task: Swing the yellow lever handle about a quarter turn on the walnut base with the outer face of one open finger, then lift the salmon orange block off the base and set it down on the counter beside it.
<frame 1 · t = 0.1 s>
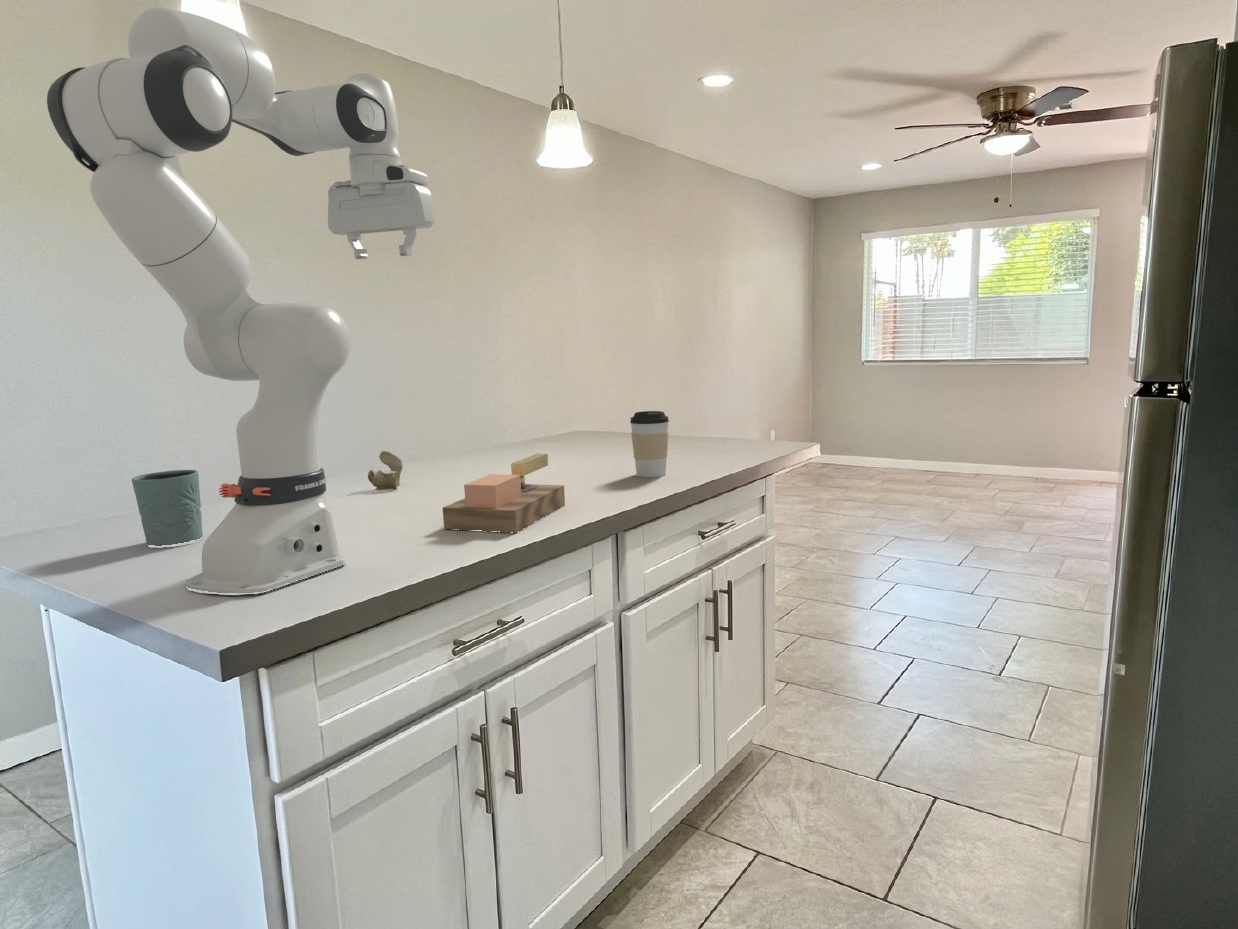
hand: (383, 257, 141), 48 cm above the counter, fingers open, 8 cm apart
yellow lever handle: (530, 470, 155), point 7 cm above the counter, hinge at 0.0°
base: (507, 516, 146), on the counter
coffee cup: (651, 475, 183), on the counter
salmon orange block: (494, 501, 141), point 4 cm above the counter, touching base
green embossed plant pot: (174, 543, 137), on the counter
tan squirrel figurine: (389, 489, 178), on the counter
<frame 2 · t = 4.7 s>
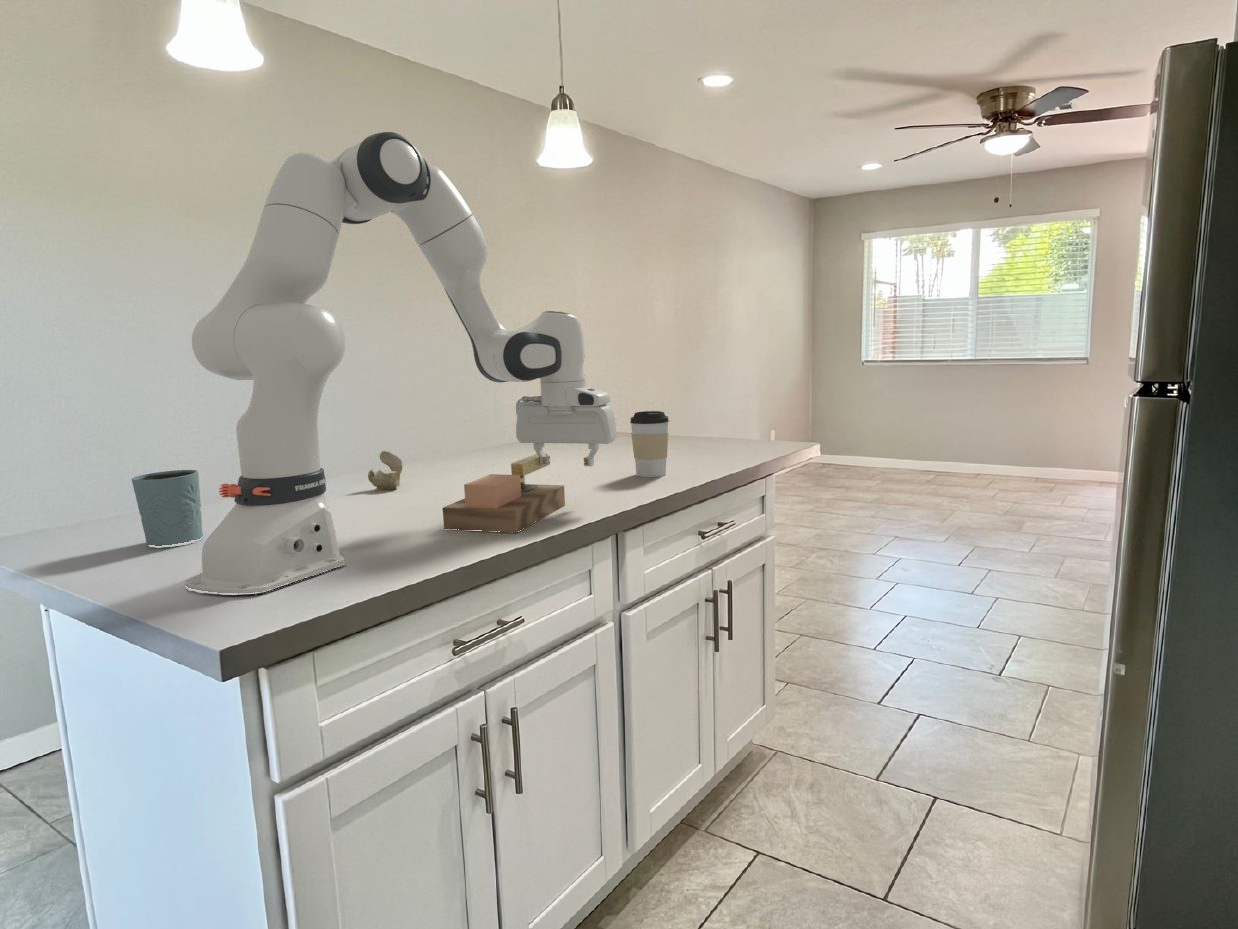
hand: (566, 465, 155), 7 cm above the counter, fingers open, 8 cm apart
yellow lever handle: (530, 470, 155), point 7 cm above the counter, hinge at 0.0°, touching gripper
everything else where it was.
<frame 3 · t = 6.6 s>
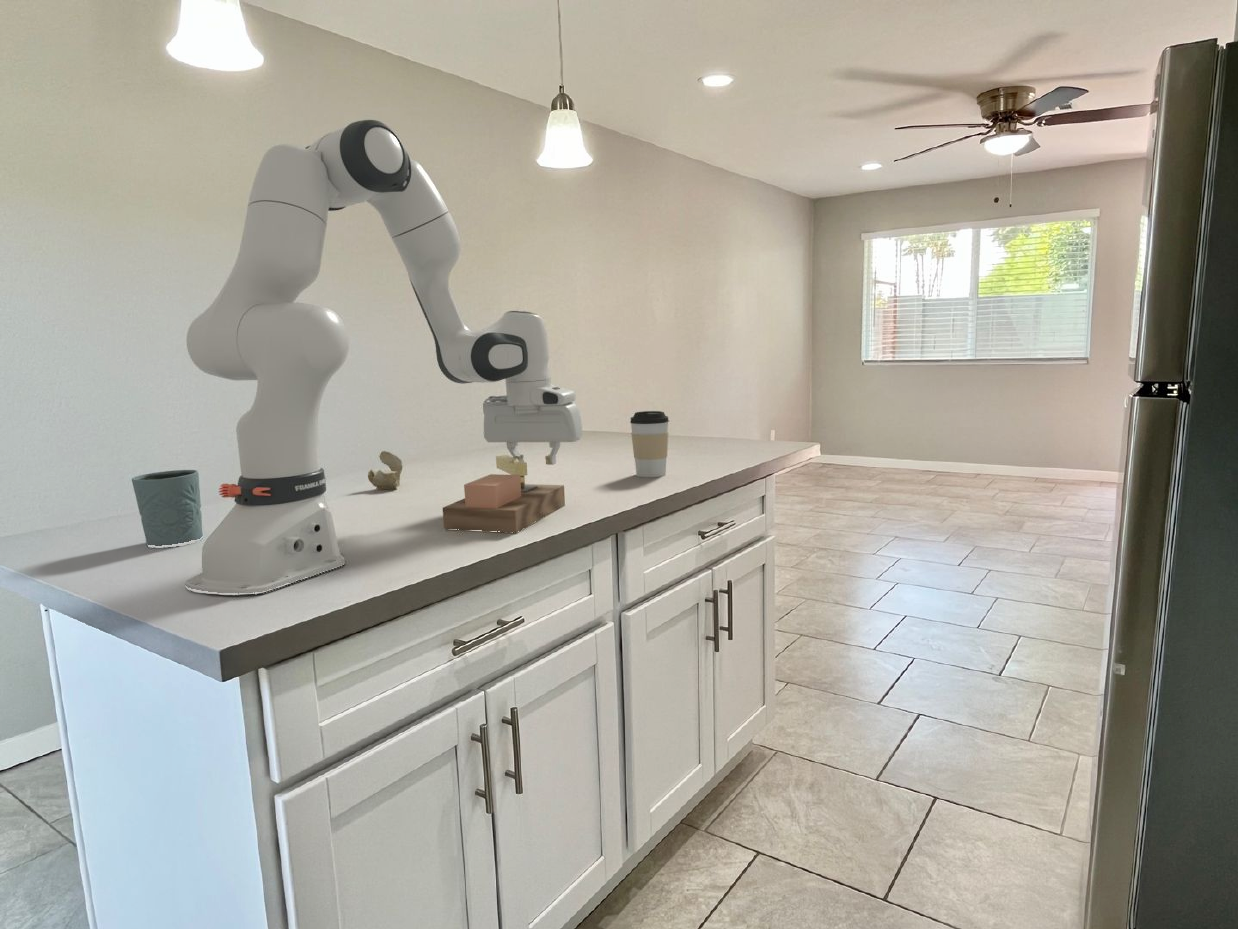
hand: (534, 464, 156), 8 cm above the counter, fingers open, 6 cm apart
yellow lever handle: (511, 471, 155), point 7 cm above the counter, hinge at 44.0°, touching gripper
everything else where it was.
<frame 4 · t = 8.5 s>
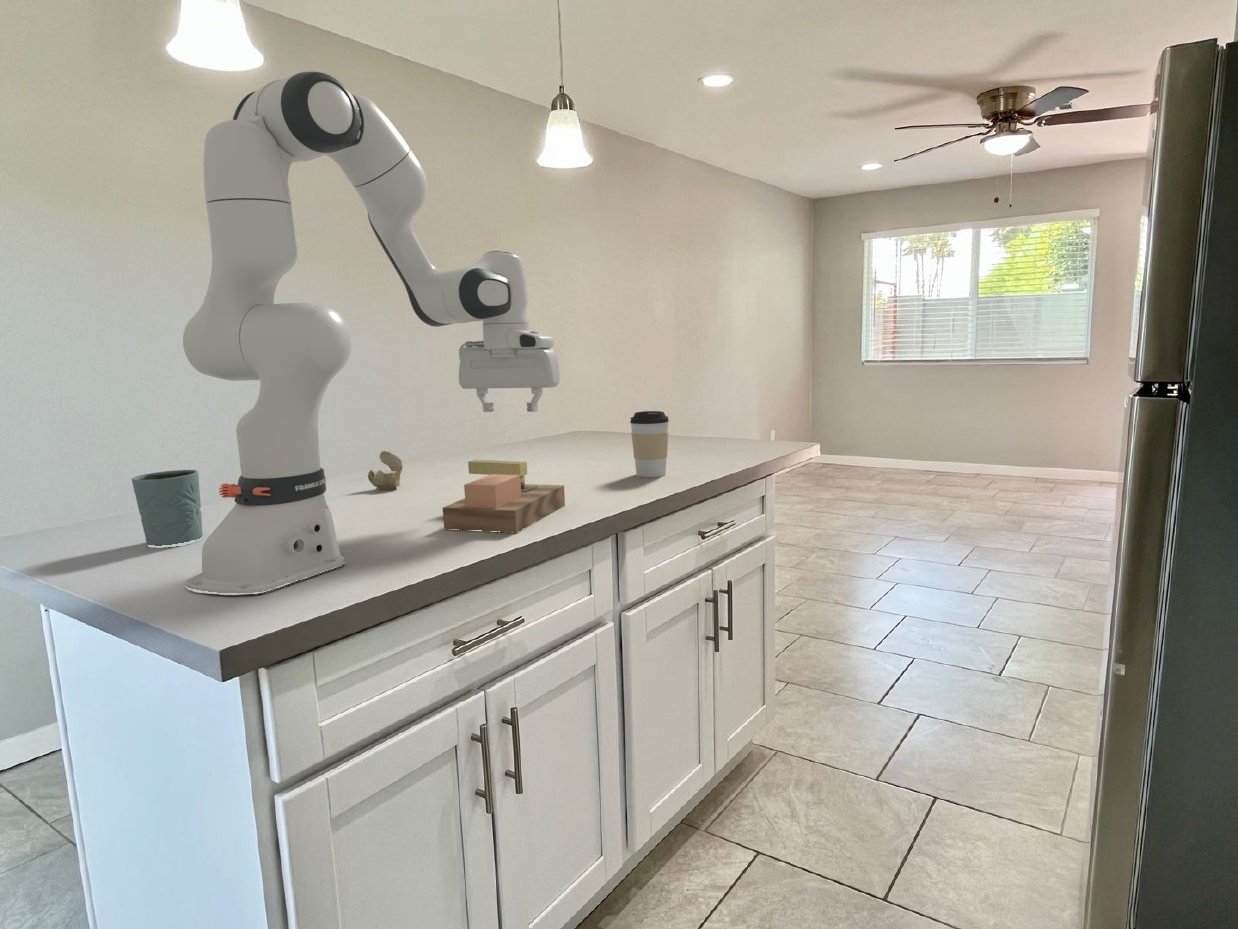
hand: (510, 411, 152), 19 cm above the counter, fingers open, 8 cm apart
yellow lever handle: (497, 473, 153), point 7 cm above the counter, hinge at 82.7°
everything else where it was.
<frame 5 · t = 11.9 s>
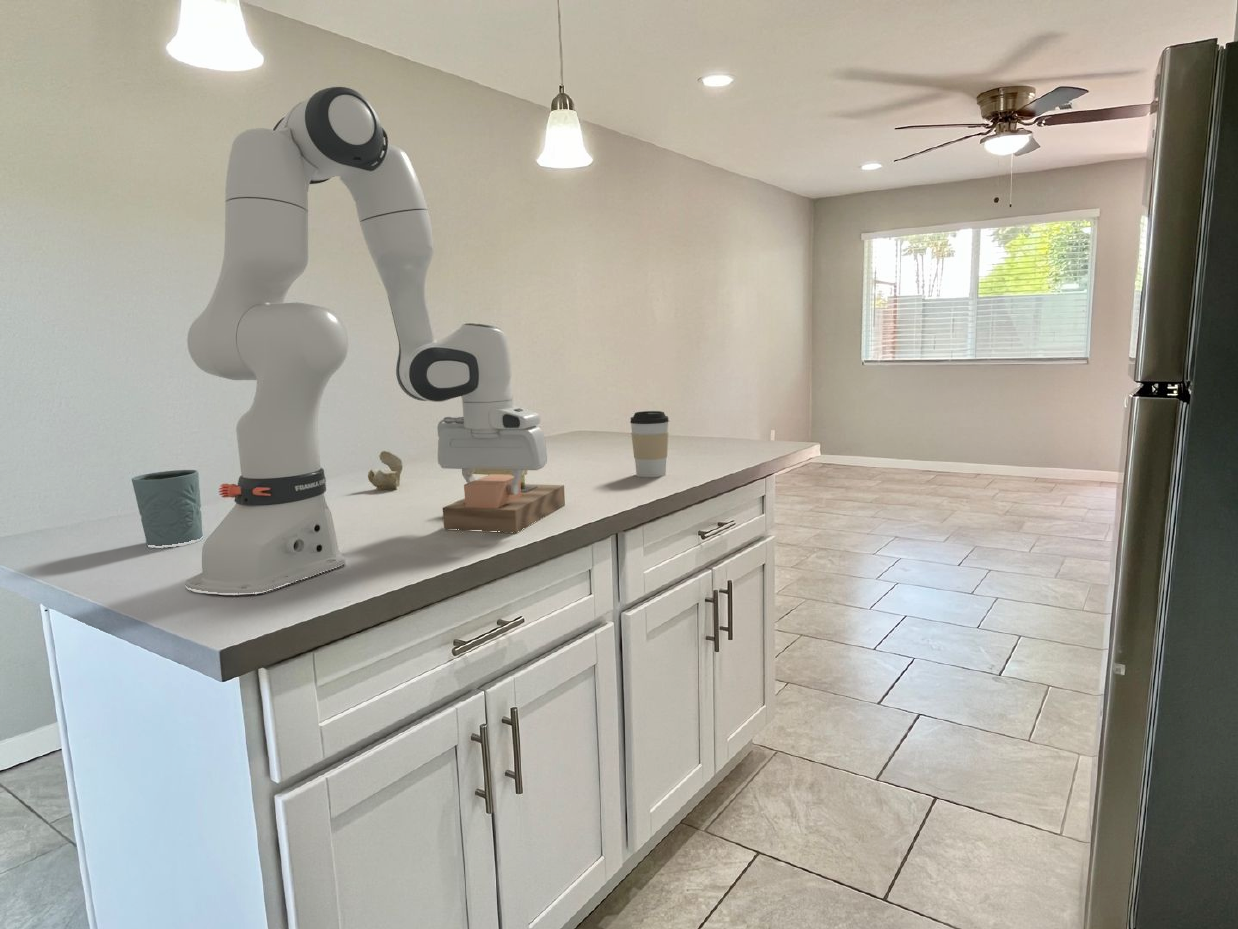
hand: (493, 493, 140), 5 cm above the counter, fingers closed on salmon orange block, 6 cm apart
salmon orange block: (494, 501, 141), point 4 cm above the counter, touching base, gripper
everything else where it was.
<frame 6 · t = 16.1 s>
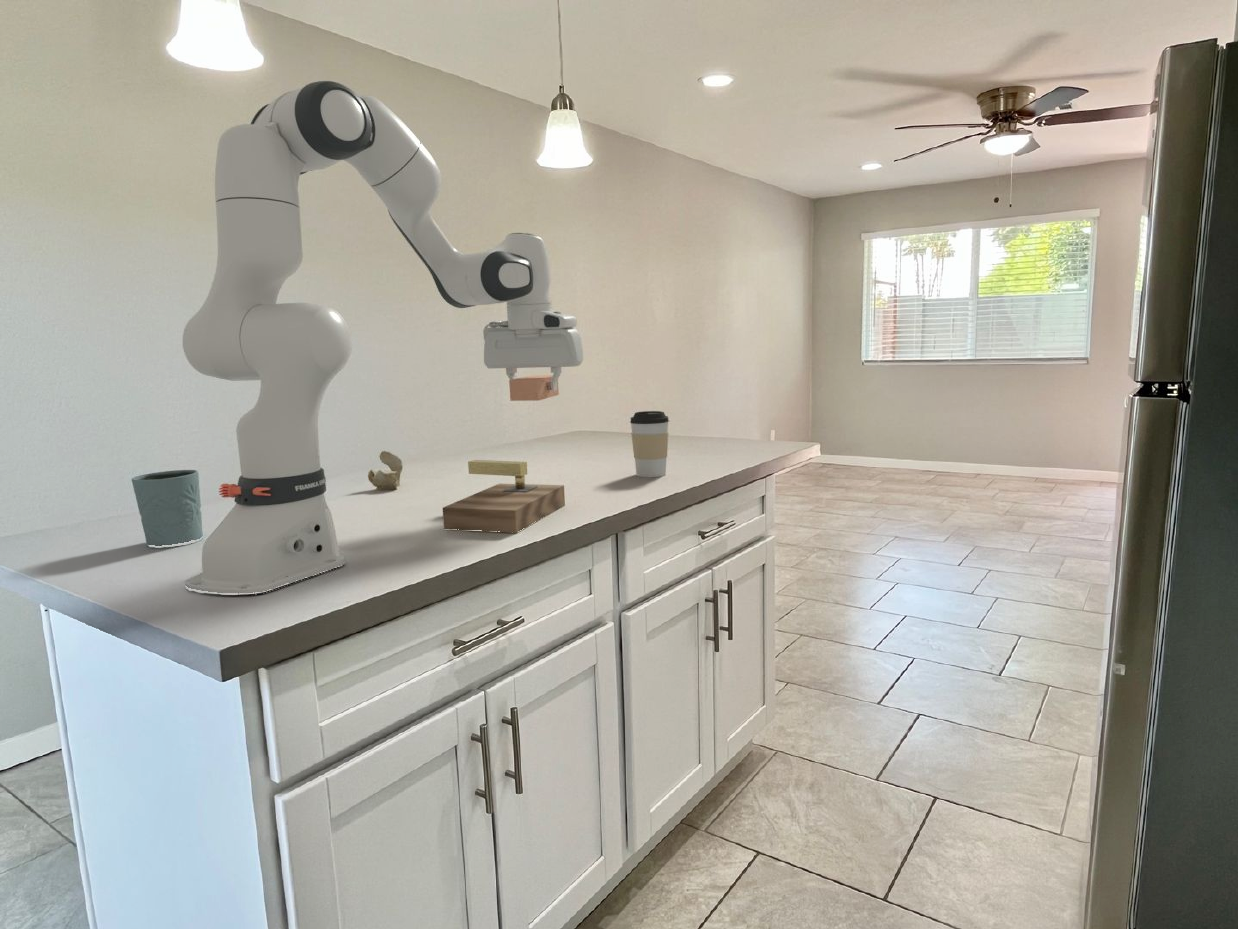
hand: (534, 390, 156), 22 cm above the counter, fingers closed on salmon orange block, 6 cm apart
salmon orange block: (535, 397, 156), point 21 cm above the counter, touching gripper
everything else where it was.
when the fingers open (3 cm above the counter, at t = 20.5 s): salmon orange block drops 2 cm, on the counter.
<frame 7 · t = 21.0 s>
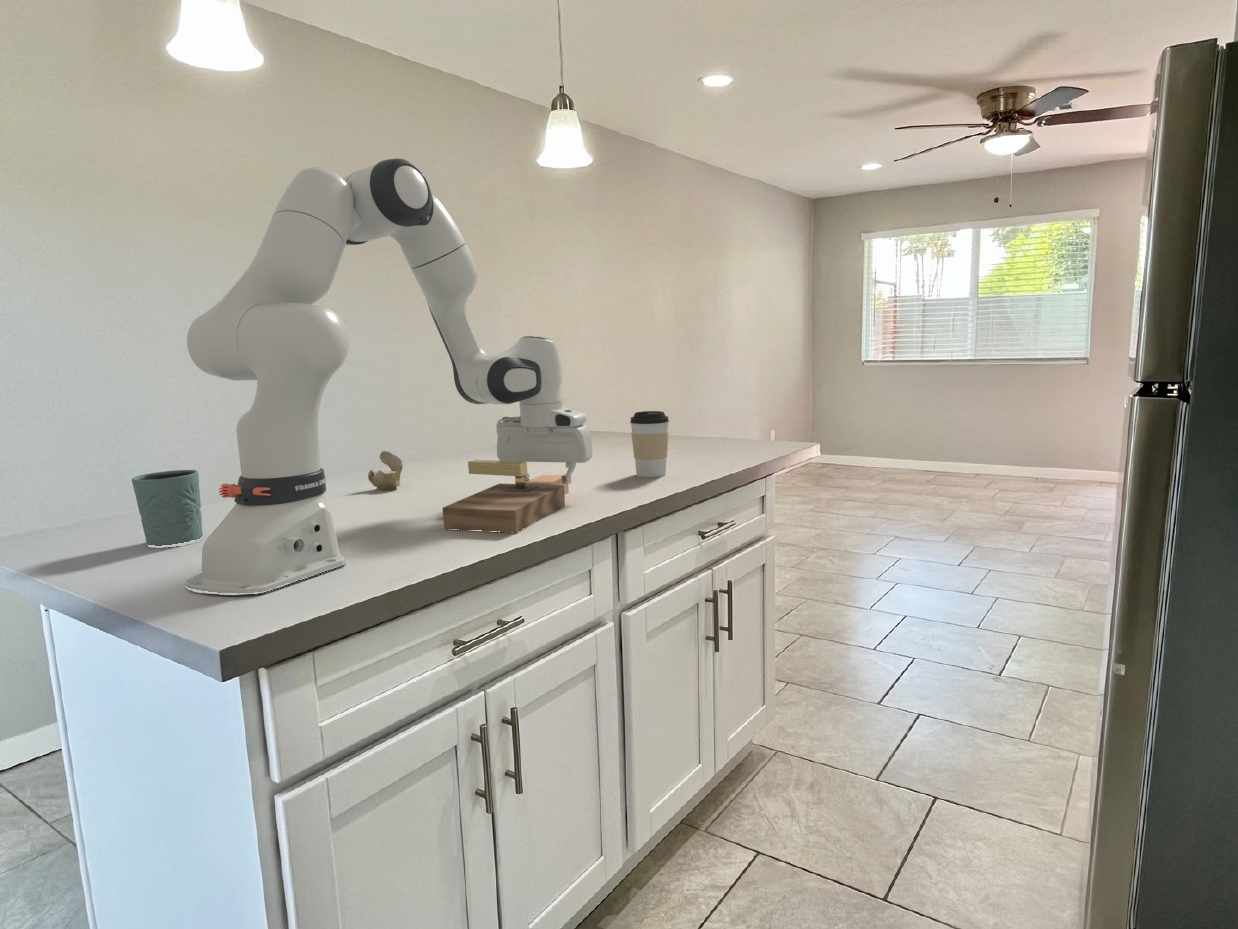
hand: (545, 483, 162), 3 cm above the counter, fingers open, 8 cm apart
salmon orange block: (546, 498, 163), on the counter
everything else where it was.
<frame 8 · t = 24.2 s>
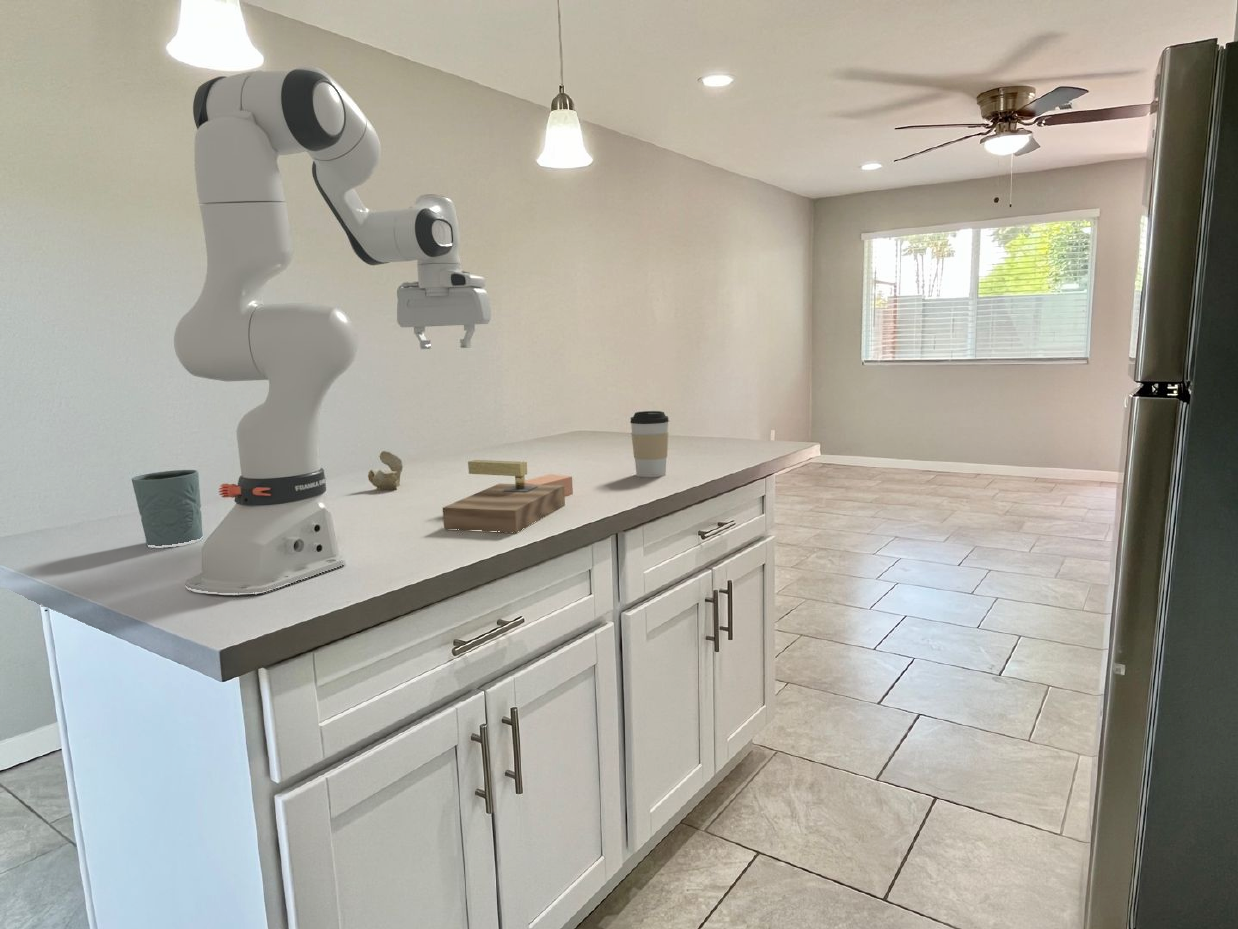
hand: (445, 348, 162), 31 cm above the counter, fingers open, 8 cm apart
at the end: yellow lever handle at +83° (first picture: +0°); salmon orange block inside the target area (0.1 cm from its centre), on the counter; salmon orange block tilted 0° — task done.
